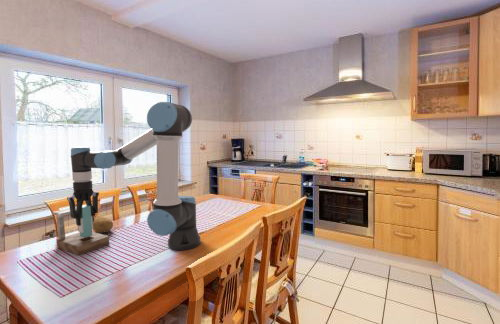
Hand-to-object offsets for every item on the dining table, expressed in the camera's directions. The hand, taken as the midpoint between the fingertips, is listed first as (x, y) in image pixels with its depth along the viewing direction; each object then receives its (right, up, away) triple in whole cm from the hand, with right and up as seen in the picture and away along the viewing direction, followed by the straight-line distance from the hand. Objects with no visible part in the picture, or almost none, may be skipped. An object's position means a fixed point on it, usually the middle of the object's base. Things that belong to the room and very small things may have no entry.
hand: (85, 230), depth 127 cm
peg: (0, -3, 0) cm, 3 cm away
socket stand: (-2, -8, +2) cm, 9 cm away
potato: (-3, -6, +21) cm, 22 cm away
